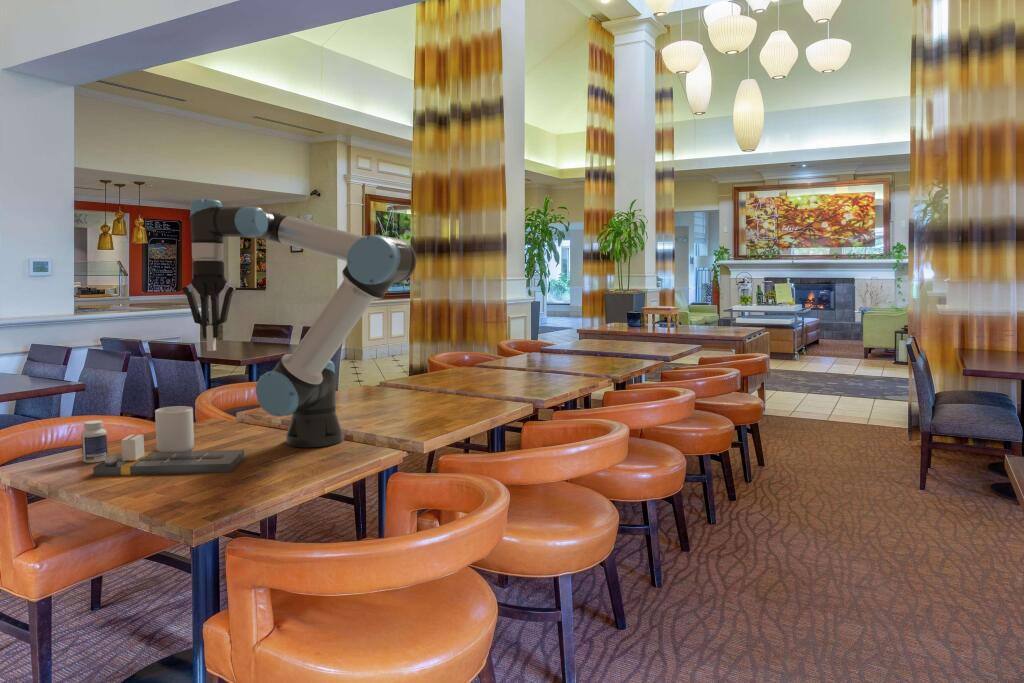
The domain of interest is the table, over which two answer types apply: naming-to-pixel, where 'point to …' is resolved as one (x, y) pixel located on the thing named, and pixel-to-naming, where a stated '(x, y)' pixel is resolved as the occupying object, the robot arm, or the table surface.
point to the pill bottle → (94, 442)
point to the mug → (174, 429)
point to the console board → (171, 463)
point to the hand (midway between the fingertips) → (211, 350)
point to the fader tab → (132, 447)
